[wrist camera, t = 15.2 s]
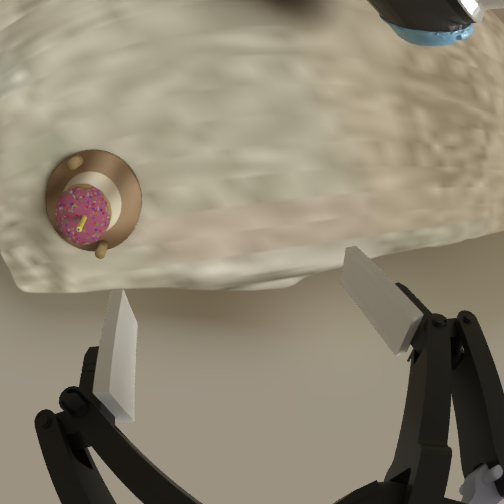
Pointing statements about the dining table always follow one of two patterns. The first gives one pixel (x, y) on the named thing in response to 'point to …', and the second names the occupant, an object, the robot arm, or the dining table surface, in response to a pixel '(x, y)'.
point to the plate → (110, 183)
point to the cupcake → (83, 213)
